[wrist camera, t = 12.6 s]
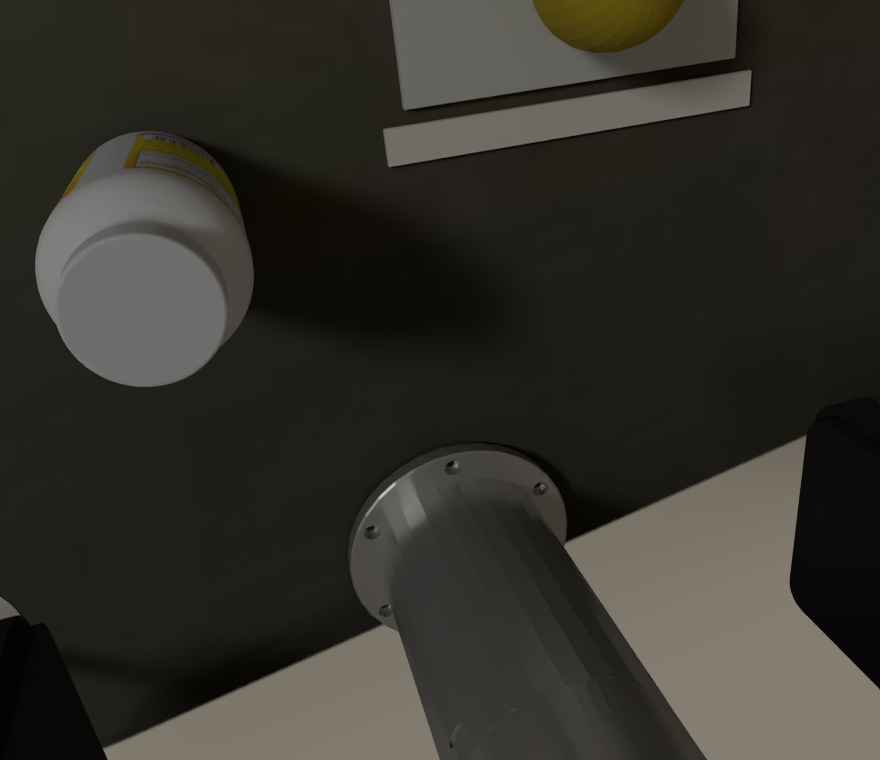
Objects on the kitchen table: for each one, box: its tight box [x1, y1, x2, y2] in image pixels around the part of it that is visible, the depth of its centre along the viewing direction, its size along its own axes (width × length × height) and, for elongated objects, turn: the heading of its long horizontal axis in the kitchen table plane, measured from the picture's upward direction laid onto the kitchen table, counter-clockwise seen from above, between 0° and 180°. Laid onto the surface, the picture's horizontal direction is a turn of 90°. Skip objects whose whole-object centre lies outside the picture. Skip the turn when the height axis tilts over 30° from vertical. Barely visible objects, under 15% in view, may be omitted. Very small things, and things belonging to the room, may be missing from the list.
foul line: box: [383, 70, 751, 167], centre depth 37 cm, size 2×18×1 cm, turn 96°
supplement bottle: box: [35, 131, 254, 387], centre depth 28 cm, size 7×7×13 cm
